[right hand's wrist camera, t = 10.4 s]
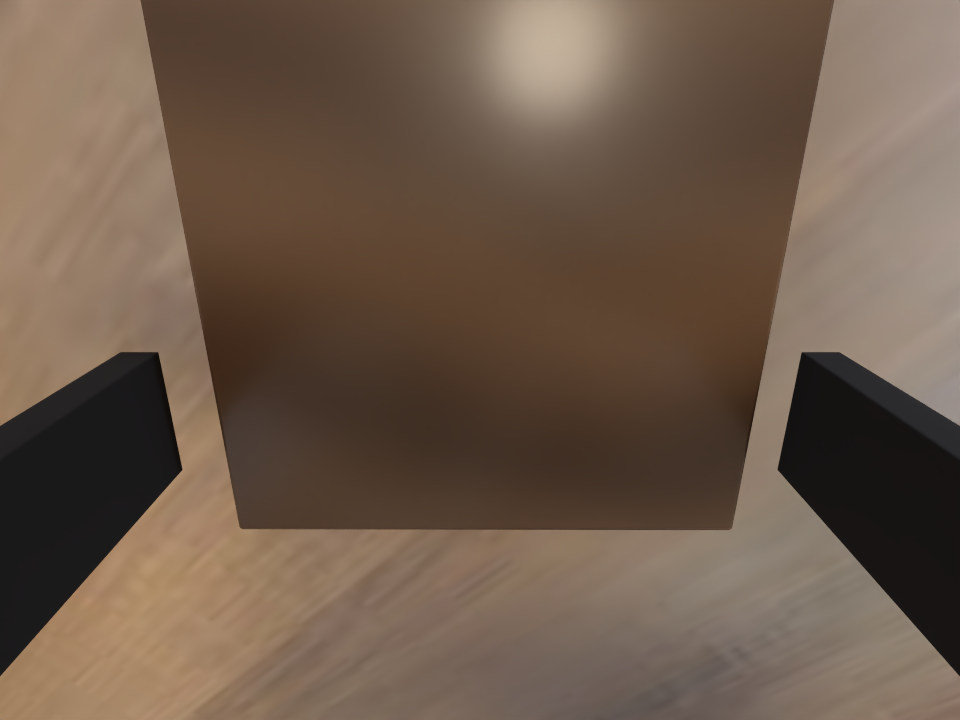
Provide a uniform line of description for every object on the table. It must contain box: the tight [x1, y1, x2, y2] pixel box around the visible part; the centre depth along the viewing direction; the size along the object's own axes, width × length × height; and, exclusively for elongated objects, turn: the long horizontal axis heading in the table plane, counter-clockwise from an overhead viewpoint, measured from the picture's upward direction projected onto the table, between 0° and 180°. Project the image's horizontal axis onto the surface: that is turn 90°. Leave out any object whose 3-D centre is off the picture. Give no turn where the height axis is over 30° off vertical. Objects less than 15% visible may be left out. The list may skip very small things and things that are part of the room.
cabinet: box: [141, 0, 834, 530], centre depth 14 cm, size 18×11×8 cm, turn 0°
